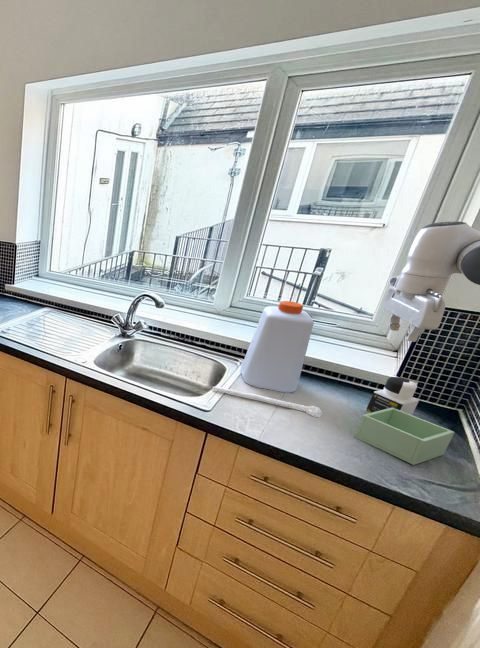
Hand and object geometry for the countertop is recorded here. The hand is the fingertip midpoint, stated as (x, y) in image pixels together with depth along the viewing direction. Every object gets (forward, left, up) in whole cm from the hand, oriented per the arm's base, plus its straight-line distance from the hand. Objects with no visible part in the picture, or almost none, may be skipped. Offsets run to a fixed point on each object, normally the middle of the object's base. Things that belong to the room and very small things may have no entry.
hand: (401, 335), depth 114 cm
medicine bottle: (-2, -4, -25) cm, 26 cm away
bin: (-12, +10, -25) cm, 30 cm away
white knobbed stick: (+15, +23, -25) cm, 38 cm away
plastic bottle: (+26, +8, -25) cm, 37 cm away
